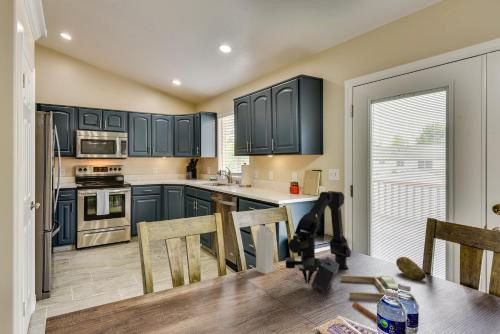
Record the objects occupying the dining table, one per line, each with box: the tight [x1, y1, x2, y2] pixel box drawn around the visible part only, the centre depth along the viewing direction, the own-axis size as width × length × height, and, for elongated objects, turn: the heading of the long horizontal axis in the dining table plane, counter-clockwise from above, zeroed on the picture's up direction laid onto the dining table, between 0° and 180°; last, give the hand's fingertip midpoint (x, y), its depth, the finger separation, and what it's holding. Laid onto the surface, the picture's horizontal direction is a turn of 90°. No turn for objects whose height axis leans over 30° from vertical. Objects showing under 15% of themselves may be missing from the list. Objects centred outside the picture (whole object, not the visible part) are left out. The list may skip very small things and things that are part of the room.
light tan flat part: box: [340, 274, 399, 301], centre depth 122 cm, size 17×22×4 cm
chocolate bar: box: [351, 300, 378, 324], centre depth 104 cm, size 3×12×2 cm, turn 22°
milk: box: [255, 224, 275, 275], centre depth 141 cm, size 6×6×22 cm
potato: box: [395, 256, 426, 281], centre depth 137 cm, size 8×13×8 cm, turn 8°
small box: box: [310, 257, 340, 294], centre depth 123 cm, size 11×6×10 cm, turn 149°
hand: (307, 283), depth 125 cm, fingers closed
